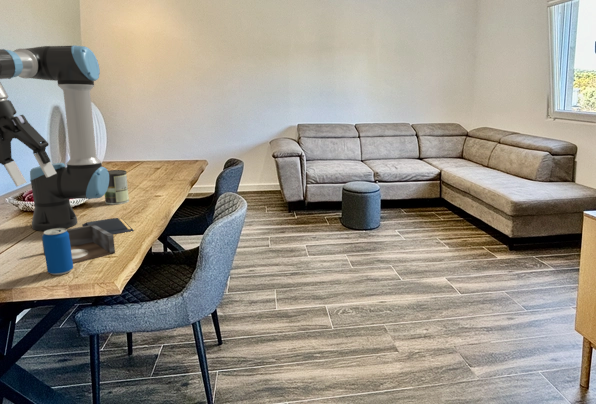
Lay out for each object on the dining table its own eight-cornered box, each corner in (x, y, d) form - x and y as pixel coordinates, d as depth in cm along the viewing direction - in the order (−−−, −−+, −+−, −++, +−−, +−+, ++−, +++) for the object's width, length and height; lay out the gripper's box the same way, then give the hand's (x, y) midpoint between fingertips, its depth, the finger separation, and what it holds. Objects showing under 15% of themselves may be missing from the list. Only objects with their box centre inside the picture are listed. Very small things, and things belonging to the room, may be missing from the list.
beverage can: (77, 267, 129) (72, 227, 126) (67, 276, 123) (61, 234, 120) (54, 267, 129) (49, 227, 126) (43, 276, 123) (36, 234, 120)
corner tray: (43, 252, 140) (41, 234, 139) (96, 241, 151) (93, 224, 150) (60, 266, 129) (57, 247, 128) (115, 253, 140) (113, 234, 139)
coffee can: (104, 205, 199) (100, 174, 195) (106, 200, 208) (103, 170, 205) (128, 203, 202) (125, 173, 198) (129, 198, 211) (127, 169, 208)
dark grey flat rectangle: (81, 221, 171) (123, 215, 178) (82, 225, 171) (123, 219, 179) (88, 235, 154) (134, 228, 162) (88, 240, 154) (134, 233, 162)
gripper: (-47, 119, 116) (-3, 193, 122) (7, 93, 104) (52, 177, 110) (-19, 112, 122) (21, 182, 128) (35, 87, 110) (76, 166, 117)
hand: (36, 180), depth 119 cm, fingers open, 13 cm apart
